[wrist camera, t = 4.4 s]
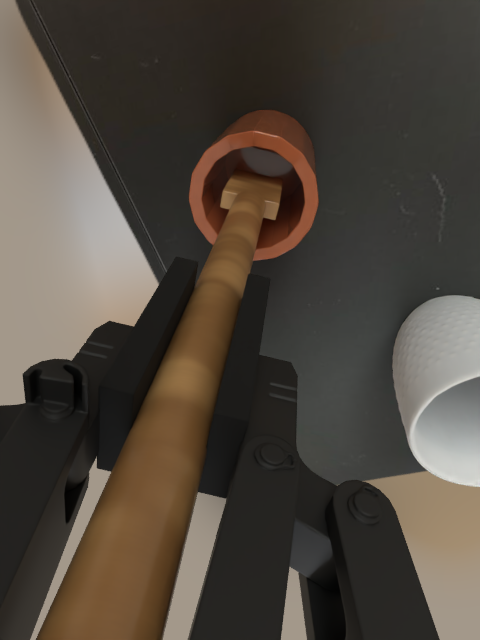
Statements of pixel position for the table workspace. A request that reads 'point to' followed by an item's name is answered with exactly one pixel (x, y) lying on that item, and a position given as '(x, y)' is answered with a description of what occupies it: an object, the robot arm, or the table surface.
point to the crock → (266, 159)
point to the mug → (441, 386)
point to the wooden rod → (164, 450)
